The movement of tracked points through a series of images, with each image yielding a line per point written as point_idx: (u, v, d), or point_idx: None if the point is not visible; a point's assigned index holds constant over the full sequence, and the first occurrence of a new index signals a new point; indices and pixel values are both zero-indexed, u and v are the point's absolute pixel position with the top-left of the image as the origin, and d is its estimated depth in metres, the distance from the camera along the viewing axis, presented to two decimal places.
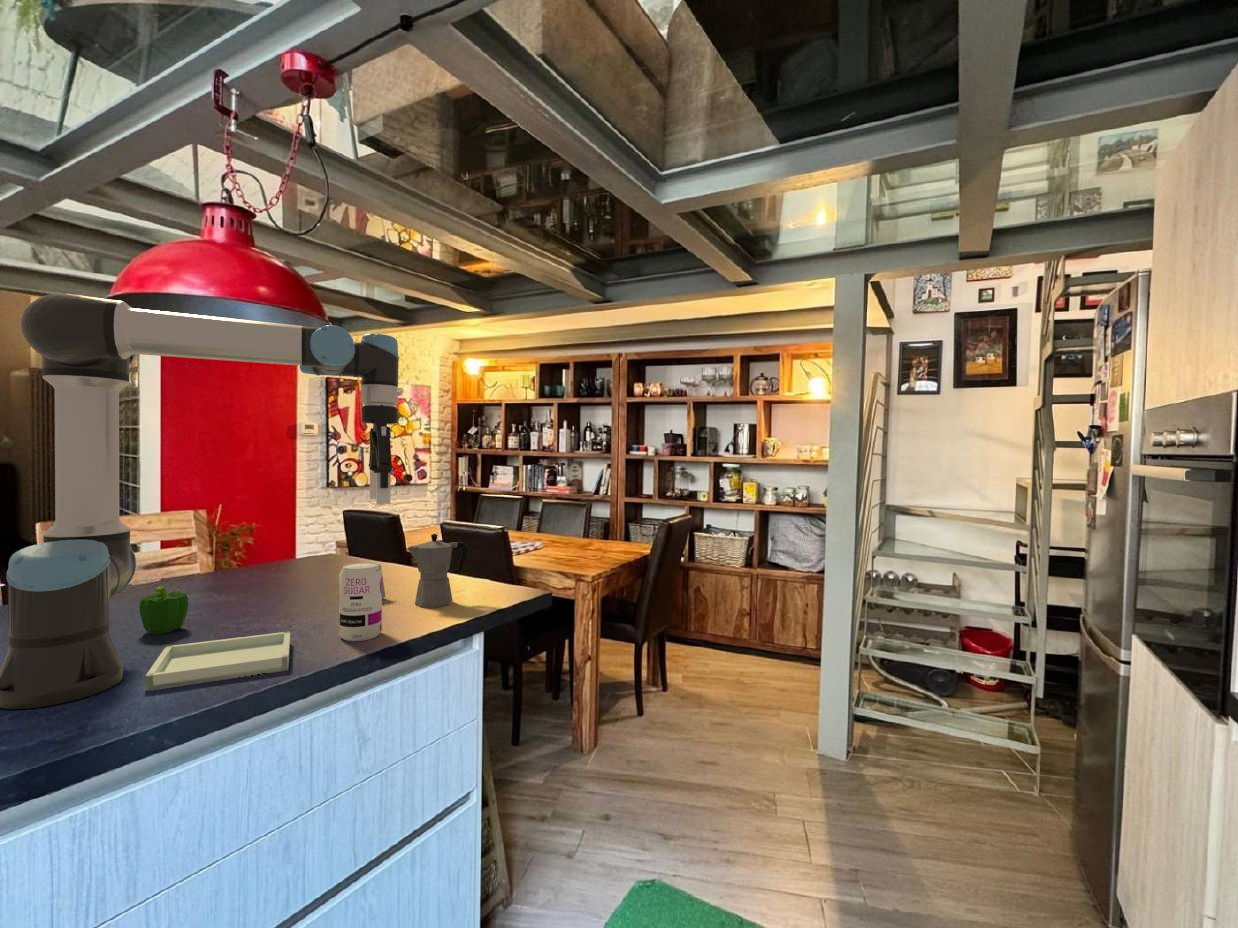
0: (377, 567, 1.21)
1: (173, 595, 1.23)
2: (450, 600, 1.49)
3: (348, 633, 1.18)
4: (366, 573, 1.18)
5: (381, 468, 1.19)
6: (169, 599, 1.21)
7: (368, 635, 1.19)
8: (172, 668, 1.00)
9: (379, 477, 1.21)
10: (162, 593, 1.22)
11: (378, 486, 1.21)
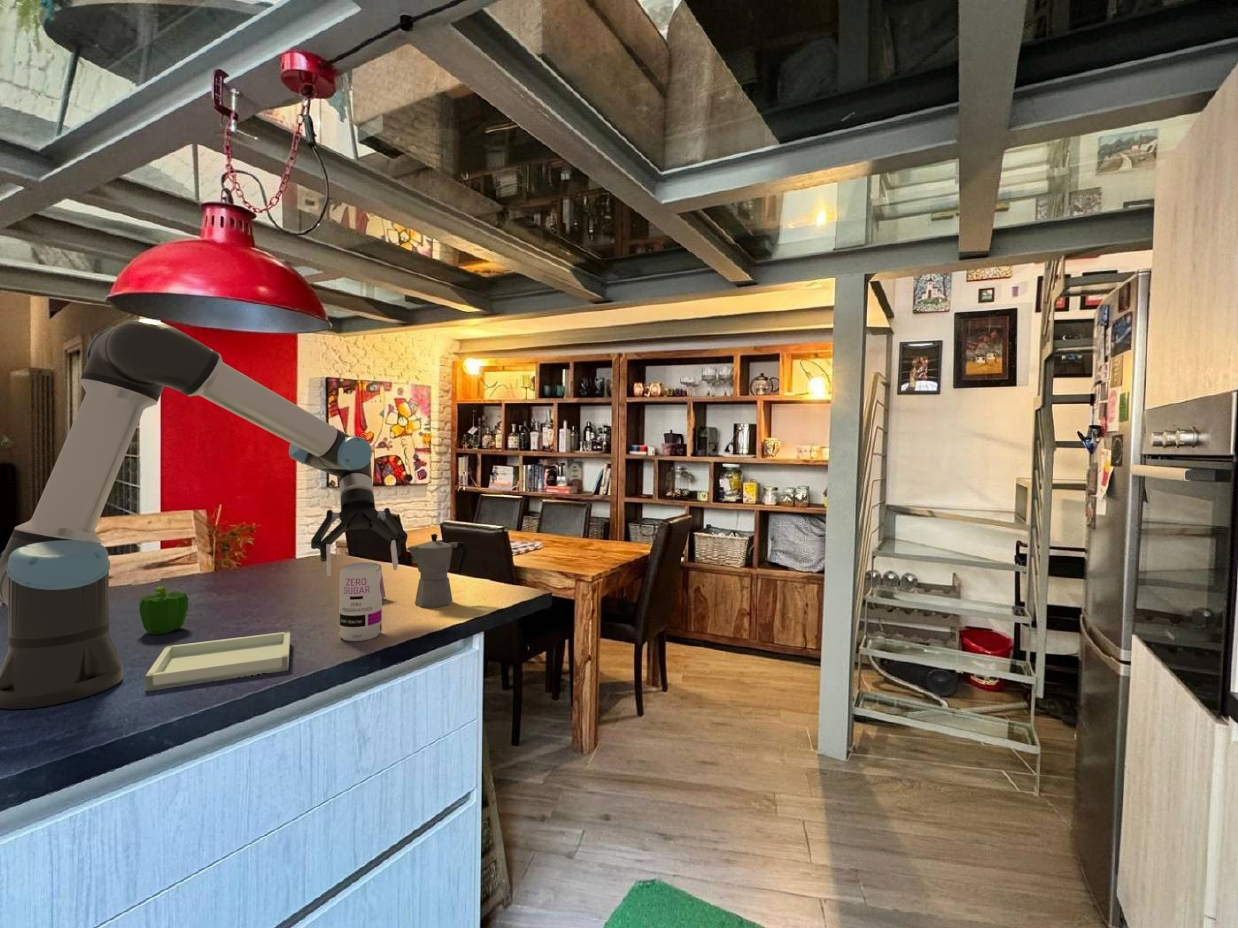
0: (377, 567, 1.21)
1: (173, 595, 1.23)
2: (450, 600, 1.49)
3: (348, 633, 1.18)
4: (366, 573, 1.18)
5: (406, 537, 1.37)
6: (169, 599, 1.21)
7: (368, 635, 1.19)
8: (172, 668, 1.00)
9: (395, 544, 1.34)
10: (162, 593, 1.22)
11: None
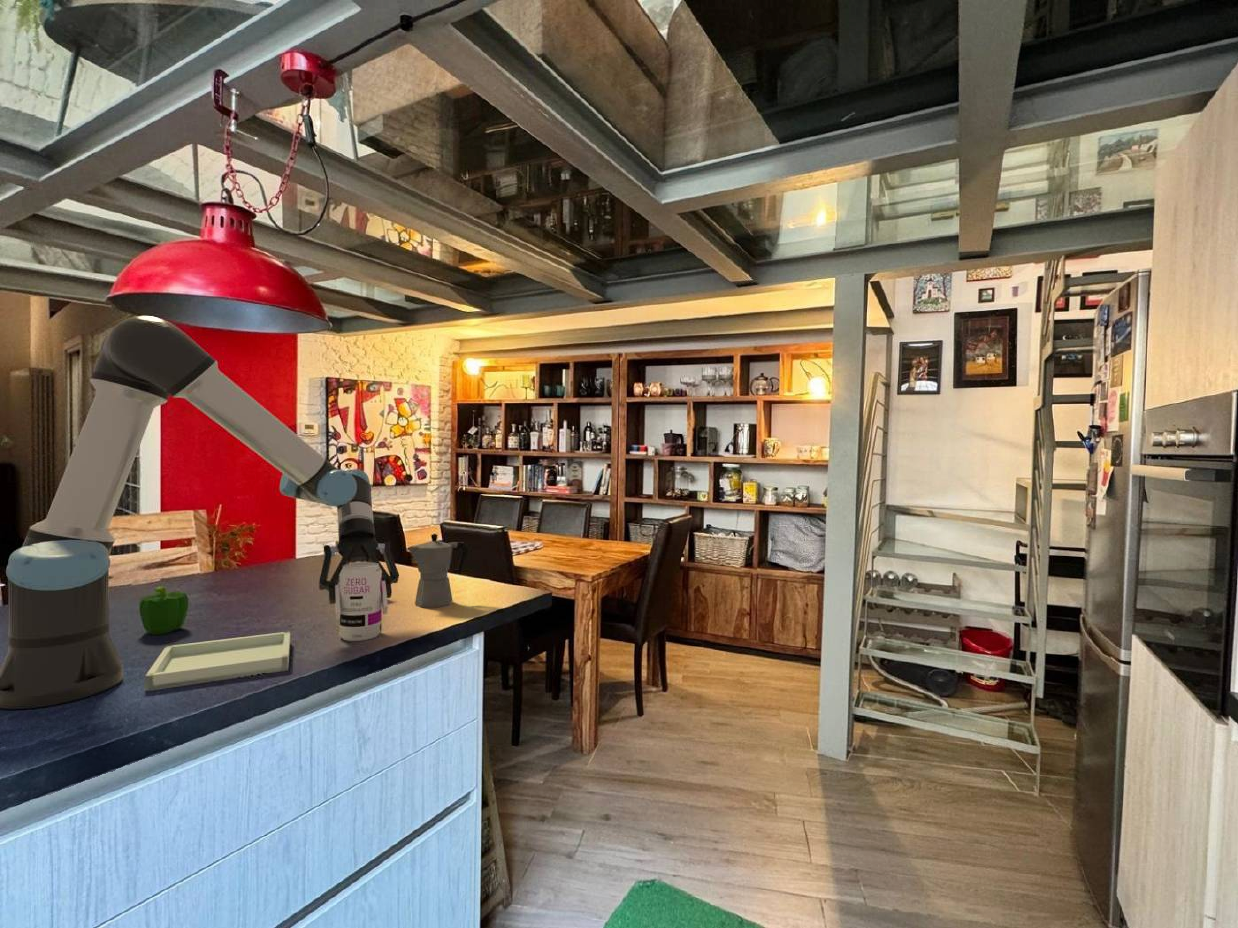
0: (377, 567, 1.21)
1: (173, 595, 1.23)
2: (450, 600, 1.49)
3: (348, 633, 1.18)
4: (366, 573, 1.18)
5: (397, 577, 1.26)
6: (169, 599, 1.21)
7: (368, 635, 1.19)
8: (172, 668, 1.00)
9: (386, 585, 1.24)
10: (162, 593, 1.22)
11: (386, 592, 1.23)
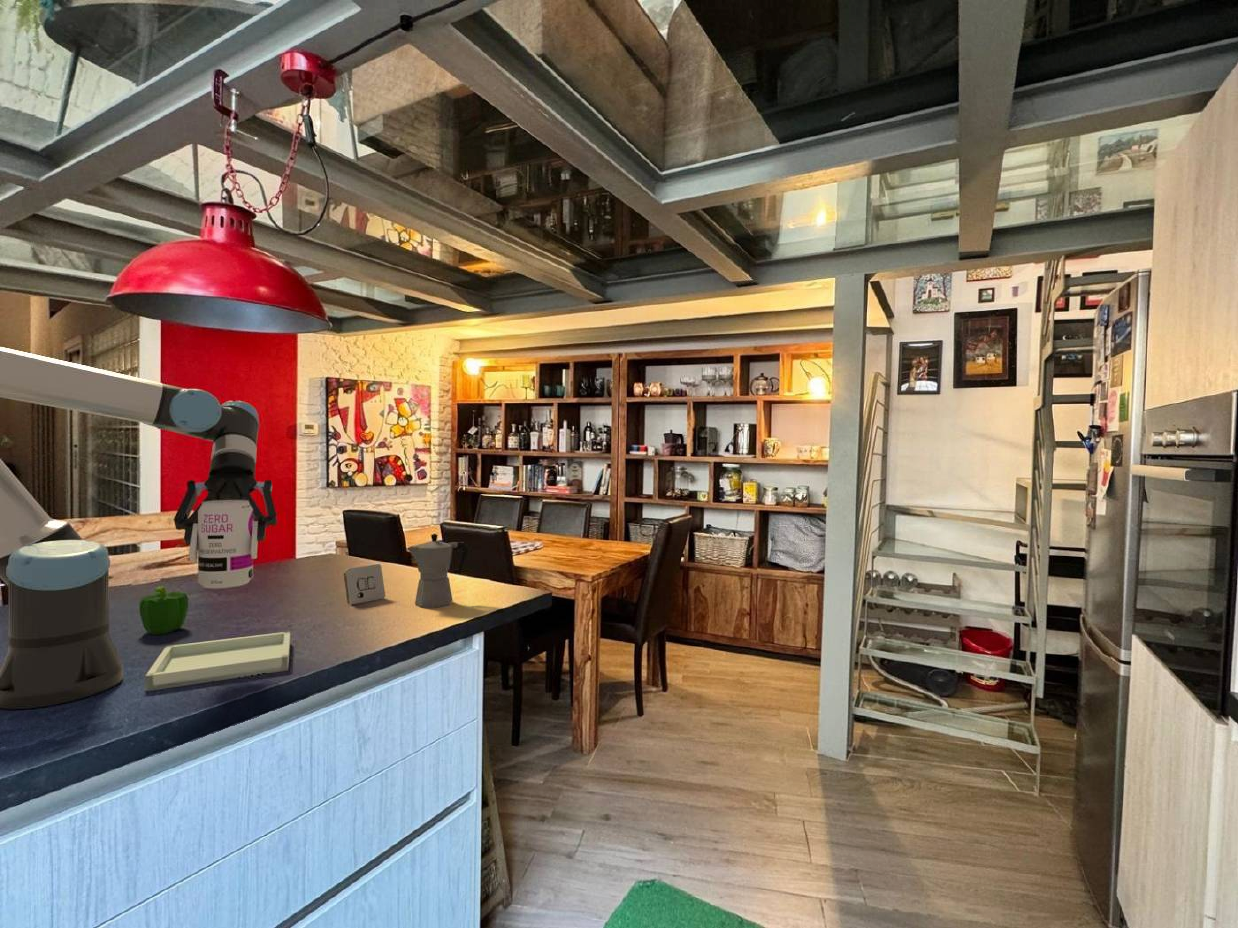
0: (245, 503, 1.04)
1: (173, 595, 1.23)
2: (450, 600, 1.49)
3: (205, 579, 1.00)
4: (229, 509, 1.01)
5: (275, 518, 1.09)
6: (169, 599, 1.21)
7: (231, 582, 1.01)
8: (172, 668, 1.00)
9: (258, 526, 1.06)
10: (162, 593, 1.22)
11: (256, 534, 1.05)
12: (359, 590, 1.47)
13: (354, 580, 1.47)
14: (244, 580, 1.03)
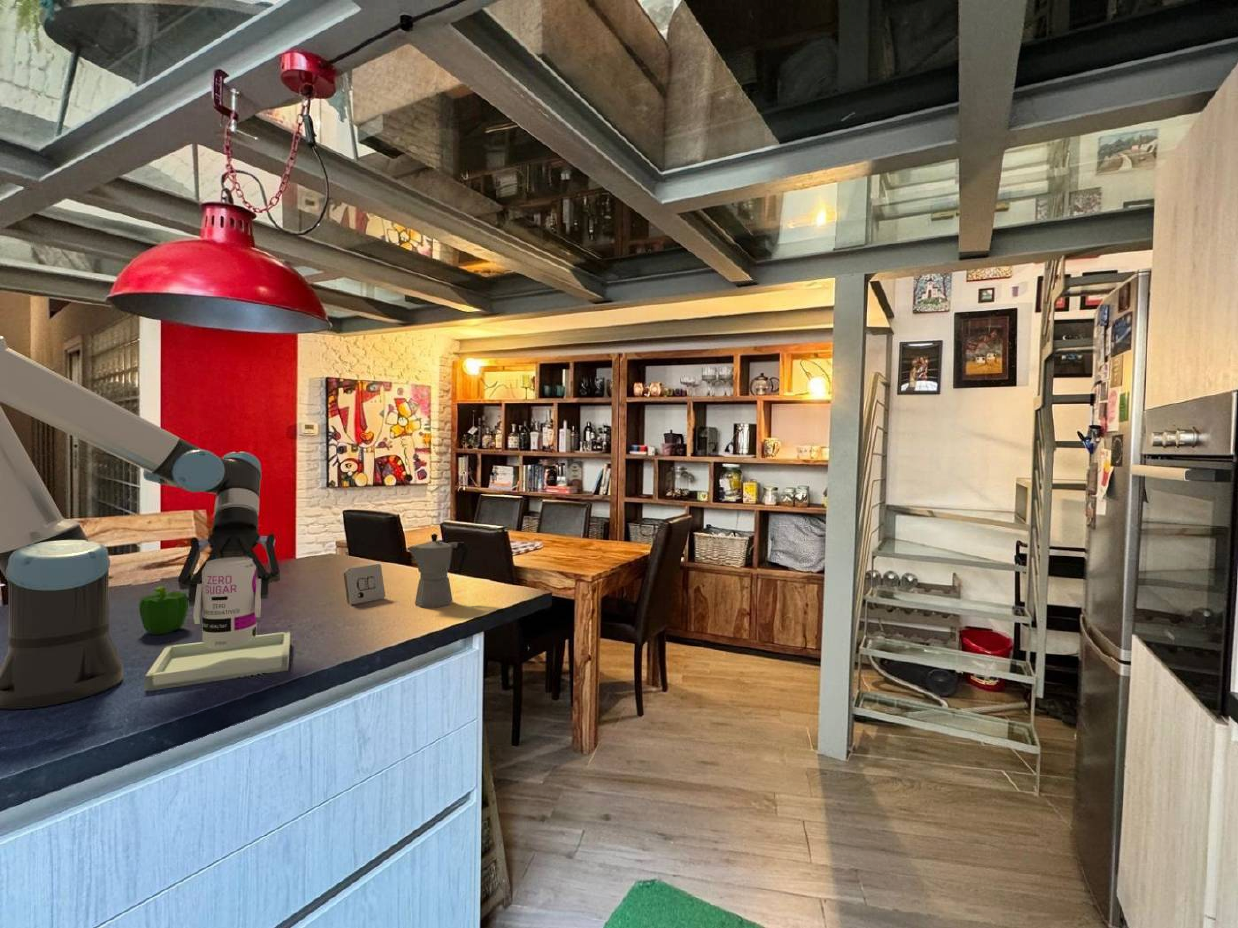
0: (248, 563, 1.05)
1: (173, 595, 1.23)
2: (450, 600, 1.49)
3: (210, 640, 1.01)
4: (232, 569, 1.02)
5: (278, 574, 1.10)
6: (169, 599, 1.21)
7: (235, 642, 1.02)
8: (172, 668, 1.00)
9: (261, 584, 1.07)
10: (162, 593, 1.22)
11: (260, 592, 1.06)
12: (359, 590, 1.47)
13: (354, 580, 1.47)
14: (248, 639, 1.04)
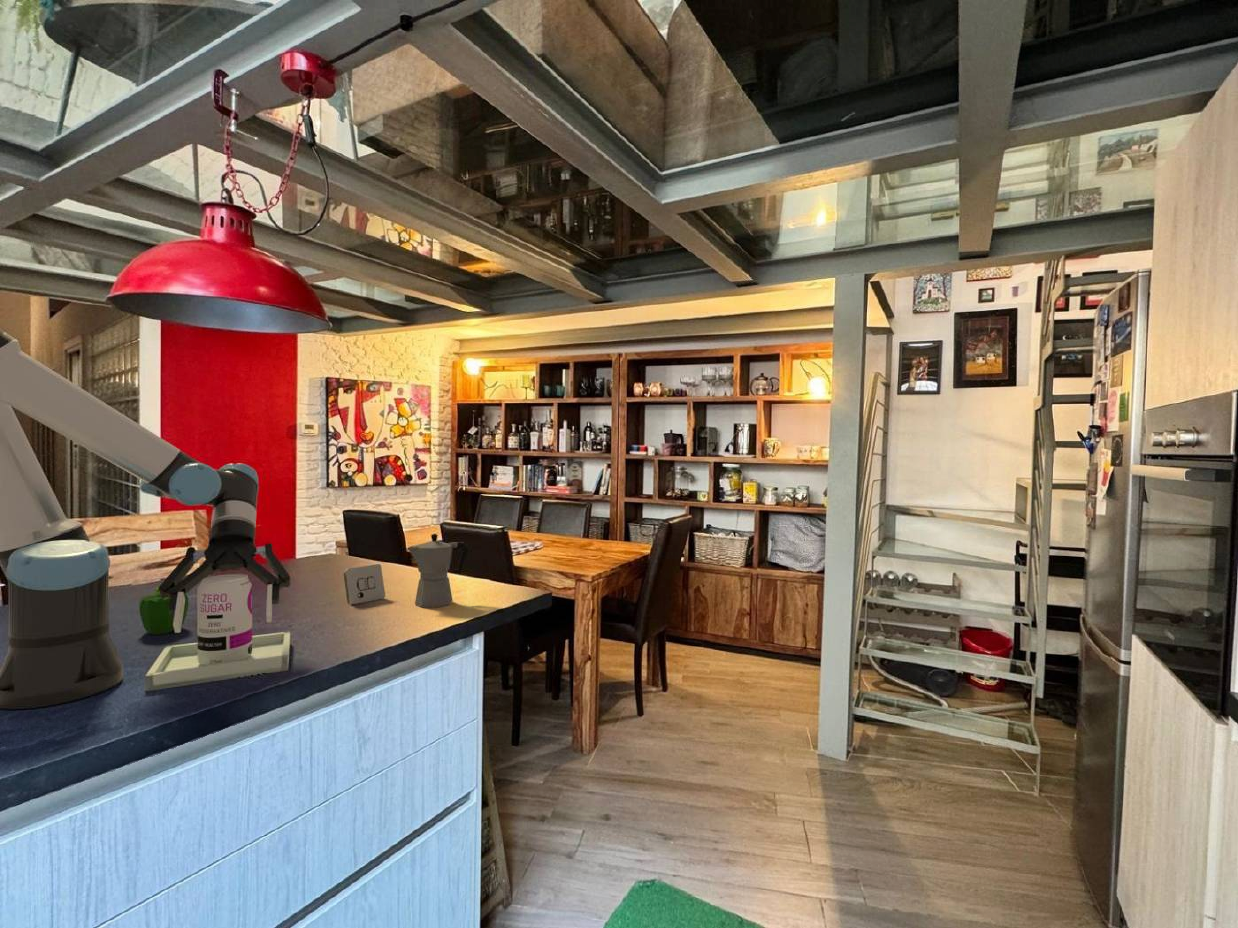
0: (244, 580, 1.04)
1: None
2: (450, 600, 1.49)
3: (205, 658, 1.00)
4: (227, 588, 1.01)
5: (288, 580, 1.11)
6: (169, 599, 1.21)
7: (230, 660, 1.02)
8: (172, 668, 1.00)
9: (272, 589, 1.09)
10: None
11: (271, 597, 1.07)
12: (359, 590, 1.47)
13: (354, 580, 1.47)
14: (243, 657, 1.03)
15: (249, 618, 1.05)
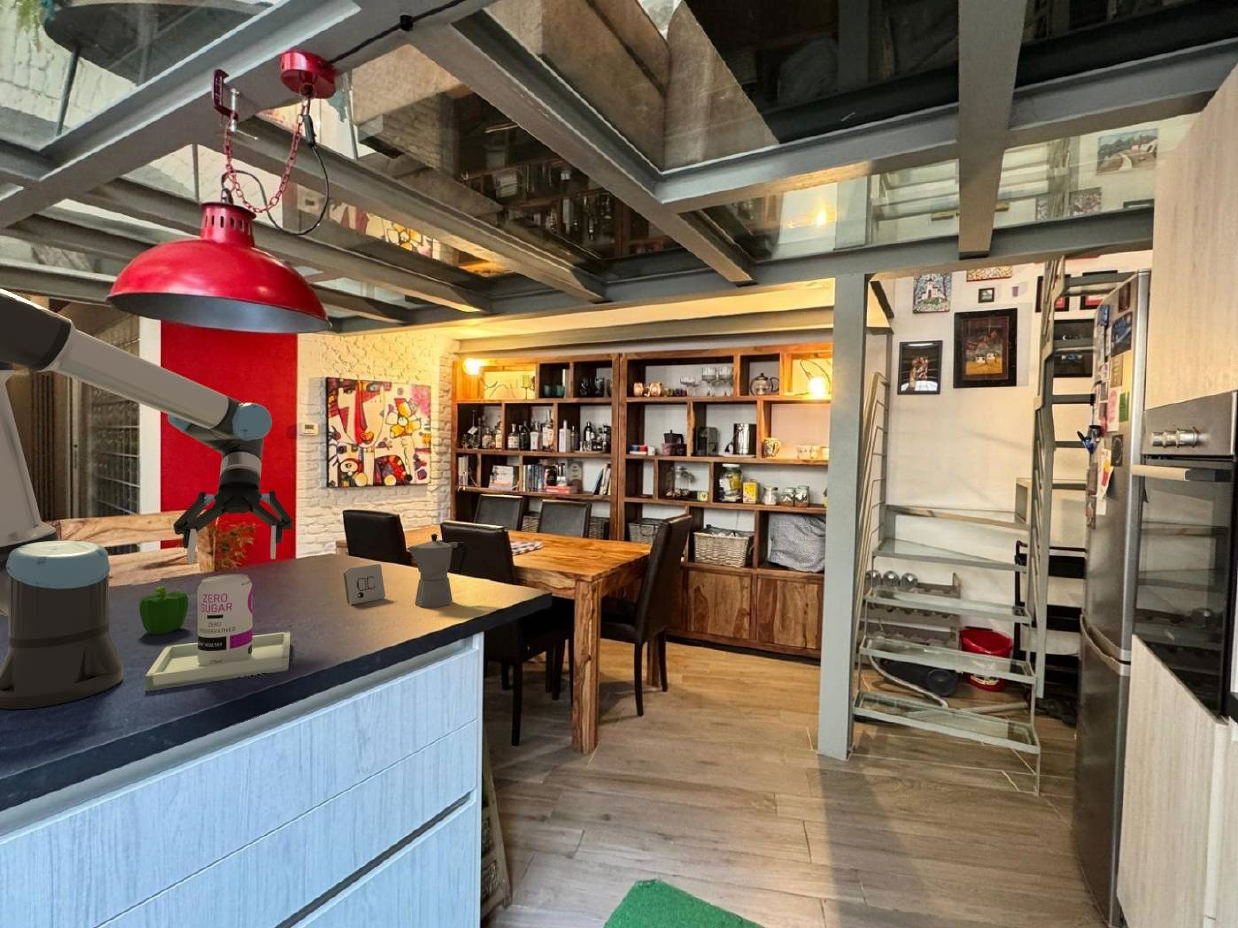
0: (244, 580, 1.04)
1: (173, 595, 1.23)
2: (450, 600, 1.49)
3: (205, 658, 1.00)
4: (228, 588, 1.01)
5: (291, 523, 1.22)
6: (169, 599, 1.21)
7: (230, 660, 1.02)
8: (172, 668, 1.00)
9: (276, 530, 1.19)
10: (162, 593, 1.22)
11: (275, 537, 1.18)
12: (359, 590, 1.47)
13: (354, 580, 1.47)
14: (243, 657, 1.04)
15: (249, 618, 1.05)
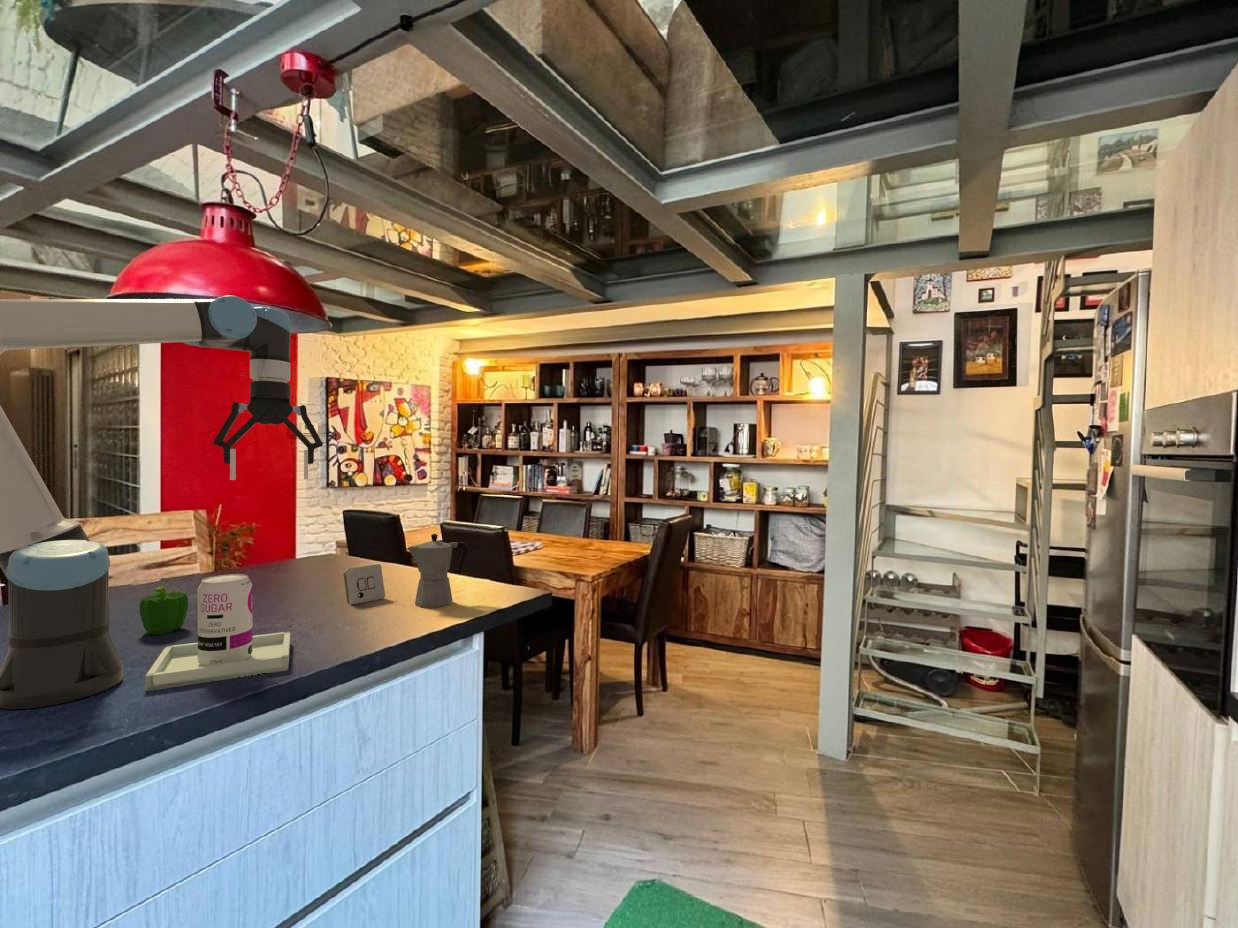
0: (244, 580, 1.04)
1: (173, 595, 1.23)
2: (450, 600, 1.49)
3: (205, 658, 1.00)
4: (228, 588, 1.01)
5: (321, 445, 1.29)
6: (169, 599, 1.21)
7: (230, 660, 1.02)
8: (172, 668, 1.00)
9: (308, 453, 1.28)
10: (162, 593, 1.22)
11: (307, 462, 1.28)
12: (359, 590, 1.47)
13: (354, 580, 1.47)
14: (243, 657, 1.04)
15: (249, 618, 1.05)
